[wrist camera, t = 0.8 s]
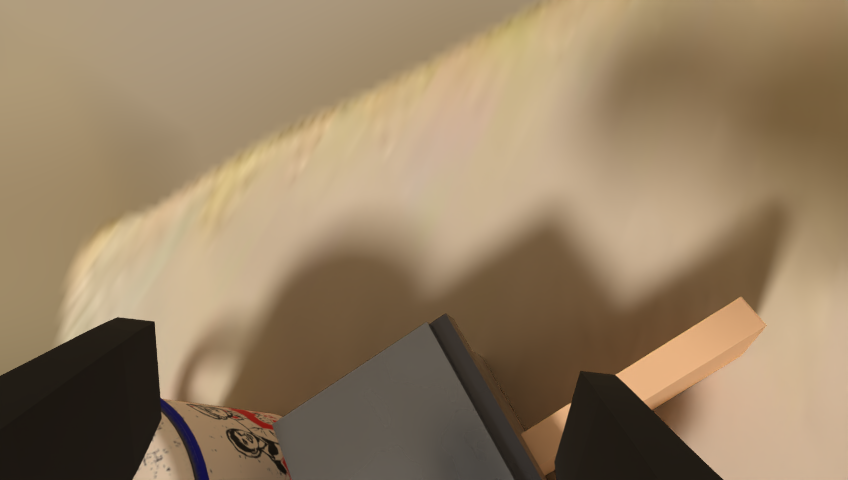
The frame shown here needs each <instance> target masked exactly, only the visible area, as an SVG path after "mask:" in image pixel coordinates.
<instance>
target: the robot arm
mask: <svg viewBox="0 0 848 480" xmlns="http://www.w3.org/2000/svg"><path fill="white" fill-rule="evenodd" d="M161 419H162V414H161V401H160V388H159V375H158V362H157V348H156V335H155V322H153V321H145V320H136V319H127V318H119V317H117V318H115V319H113V320H110V321H108V322H106V323H104V324H102V325H99V326H97V327H95V328H93V329H91V330H89V331H87V332H85V333H83V334H81V335H79V336H77V337H75V338H73V339H71V340H69V341H67V342H66V343H64V344H62V345H60V346H58V347H56V348H54V349H52V350H50V351H48V352H46V353H44V354H42V355H40V356H38V357H37V358H34V359H33V360H31V361H29V362H27V363H25V364H23V365H21V366H19V367H17V368H15V369H13V370H11V371H9V372H7V373H5V374H3V375H1V376H0V480H133V478H134V476H135V475H136V473H137V471H138V469H139V466H140V464H141V462H142V460H143V458H144V456H145V454H146V452H147V450H148V448H149V446H150V443H151V441H152V439H153V437H154V435H155V432H156V430H157V428H158V426H159V424H160V421H161ZM554 463H555V471H556V480H723V479H722V478H721V477H720V476H719V475H718V474H717V473H716V472H714V471H713V470H712V469H711V468H710V467H709V466H708V465H707V464H706V463H705V462H704V461H703V460H702V459H701V458H700V457H699V456H698V455H697V454H696V453H695V452H694V451H693V450H692V449H691V448H689V447H688V446H687V445H686V444H685V443H684V442H683V441H682V440H681V439H680V438H679V437H678V436H677V435H676V434H675V433H674V432H673V431H672V430H671V429H670V428H669V427H668V426H667V425H666V424H665V423H664V422H663V421H662V420H661V419H660V418H659V417H658V416H657V415H656V414H655V413H654V412H653V411H652V410H651V409H650V408H649V407H648V406H647V405H646V404H645V403H644V402H643V401H642V400H641V399H640V398H639V397H638V396H637V395H636V394H635V393H634V392H633V391H632V390H631V389H630V388H629V387H628V386H627V385H626V384H625V383H624V382H623V381H622V380H620V379H619V378H618V377H617V376H616V375H609V374H601V373H592V372H583V371H580V374H579V378H578V381H577V385H576V388H575V392H574V395H573V399H572V402H571V406H570V409H569V413H568V416H567V420H566V423H565V426H564V430H563V433H562V437H561V440H560V444H559V447H558V451H557V454H556V458H555V461H554Z"/></svg>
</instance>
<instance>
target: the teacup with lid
mask: <svg viewBox="0 0 848 480" xmlns="http://www.w3.org/2000/svg"><path fill="white" fill-rule="evenodd" d="M160 401H161V414H162V419H161V421H160V424H159V426H158V428H157V430H156V432H155V435H154V437H153V439H152V441H151V443H150V446H149V448H148V450H147V452H146V454H145V456H144V458H143V460H142V462H141V464H140V466H139V469H138V471H137V473H136V475H135V476H134V478H133V480H292V479H291V476H290V473H289V470H288V468H287V465H286V462H285V459H284V457H283V454H282V451H281V448H280V446H279V443H278V440H277V437H276V435H275V432H274V429H273V426H272V424H273V423H275V422H276V421H278V420H279V419H281V418H282V416H280V415H276V414H272V413H264V412H257V411H249V410H242V409H234V408H227V407H219V406H212V405H204V404H197V403H189V402H182V401H174V400H167V399H161V398H160Z"/></svg>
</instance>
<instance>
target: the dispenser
mask: <svg viewBox="0 0 848 480" xmlns="http://www.w3.org/2000/svg"><path fill="white" fill-rule="evenodd" d="M272 426H273V429H274V432H275V435H276V437H277V440H278V443H279V446H280V448H281V451H282V454H283V457H284V459H285V462H286V465H287V468H288V470H289V473H290V476H291V479H292V480H547V479H546V477H545V475H544V474H543V472H542V470H541V468H540V467H539V465H538V463H537V462H536V460H535V458H534V456H533V455H532V453H531V451H530V450H529V448H528V446H527V444H526V443H525V441H524V439H523V438H522V436H521V434H522V433H523V432H525V430H524V428H523V426H522V425H521V423H520V421H519V419H518V418H517V416H516V414H515V413H514V411H513V409H512V408H511V406H510V404H509V403H508V401H507V399H506V397H505V396H504V394H503V392H502V391H501V389H500V387H499V386H498V384H497V382H496V380H495V379H494V377H493V375H492V374H491V372H490V370H489V369H488V367H487V365H486V363H485V362H484V360H483V358H482V357H481V356H480V355H478V354H476V353H475V352H473V351H472V350H471V348H470V347H469V345H468V343H467V341H466V340H465V338H464V336H463V335H462V333H461V331H460V329H459V328H458V326H457V324H456V323H455V321H454V319H453V318H451V317H450V316H449V315H447V314H444V315H443V316H441V317H440V318H438V319H437V320H435V321H434V322H432V323H431V324H429V323H428V322H426V323H424V324H423V325H421V326H420V327H418V328H417V329H415V330H414V331H412V332H411V333H409V334H408V335H406V336H405V337H403V338H401V339H400V340H398V341H397V342H395V343H394V344H392V345H391V346H389V347H388V348H386V349H385V350H383V351H382V352H380V353H379V354H377V355H376V356H374V357H373V358H371V359H370V360H368V361H367V362H365V363H364V364H362V365H361V366H359V367H358V368H356V369H355V370H353V371H352V372H350V373H349V374H347V375H346V376H344V377H343V378H341V379H340V380H338V381H337V382H335V383H334V384H332V385H331V386H329V387H328V388H326V389H324V390H323V391H321V392H320V393H318V394H317V395H315V396H314V397H312V398H311V399H309V400H308V401H306V402H305V403H303V404H302V405H300V406H299V407H297V408H296V409H294V410H293V411H291V412H290V413H288V414H287V415H285V416H284V417H282V418H281V419H279V420H278V421H276V422H275V423H273V424H272Z"/></svg>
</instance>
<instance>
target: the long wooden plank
mask: <svg viewBox="0 0 848 480" xmlns="http://www.w3.org/2000/svg"><path fill="white" fill-rule="evenodd" d="M766 326H767V325H766V324H765V323H764V322H763V321H762V319H761V318H760V317H759V316H758V315H757V314H756V313H755V312H754V311H753V309H752V308H751V307H750V306H749V305H748V304H747V303H746V302H745V300H744V299H743V298H742V297H739V298H738V299H736V300H735V301H733V302H731V303H730V304H728V305H727V306H725V307H723V308H722V309H720V310H719V311H717V312H715V313H714V314H712V315H711V316H709V317H707V318H706V319H704V320H703V321H701V322H699V323H698V324H696V325H694V326H693V327H691V328H690V329H688V330H686V331H685V332H683V333H682V334H680V335H678V336H677V337H675V338H674V339H672V340H670V341H669V342H667V343H666V344H664V345H662V346H661V347H659V348H658V349H656V350H654V351H653V352H651V353H650V354H648V355H646V356H645V357H643V358H642V359H640V360H638V361H637V362H635V363H634V364H632V365H630V366H629V367H627V368H626V369H624V370H622V371H621V372H619V373H618V374H616V376H617V377H618V378H619V379H620V380H622V381H623V382H624V383H625V384H626V385H627V386H628V387H629V388H630V389H631V390H632V391H633V392H634V393H635V394H636V395H637V396H638V397H639V398H640V399H641V400H642V401H643V402H644V403H645V404H646V405H647V406H648V407H649V408H650V409H651V410H653V409H655V408H656V407H658V406H660V405H661V404H663V403H665V402H666V401H668V400H670V399H671V398H673V397H674V396H676V395H678V394H679V393H681V392H683V391H684V390H686V389H687V388H689V387H691V386H692V385H694V384H696V383H697V382H699V381H701V380H702V379H704V378H705V377H707V376H709V375H710V374H712V373H714V372H715V371H717V370H719V369H720V368H722V367H723V366H725V365H727V364H728V363H730V362H732V361H733V360H735V359H736V358H738V357H740V356H741V355H742V354H743V353H744V352H745V351H746V350H747V348H748V347H749V346H750V345H751V344H752V342H753V341H754V340H755V339H756V338H757V337H758V335H759V334H760V333H761V332H762V331H763V329H764V328H765V327H766ZM570 406H571V403H570V404H568V405H566V406H565V407H563V408H562V409H560V410H558V411H557V412H555V413H554V414H552V415H550V416H549V417H547V418H546V419H544V420H542V421H541V422H539V423H538V424H536V425H534V426H533V427H531V428H530V429H528V430H526V431H525V432H523V433H522V434H521V436H522V438H523V439H524V441H525V443H526V444H527V446H528V448H529V450H530V451H531V453H532V455H533V456H534V458H535V460H536V462H537V463H538V465H539V467H540V468H541V470H542V472H543V474H544V475H547V474H549V473H550V472H552V471H554V470H555V463H554V461H555V458H556V454H557V451H558V447H559V444H560V440H561V437H562V433H563V430H564V426H565V423H566V420H567V416H568V413H569V409H570Z"/></svg>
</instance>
